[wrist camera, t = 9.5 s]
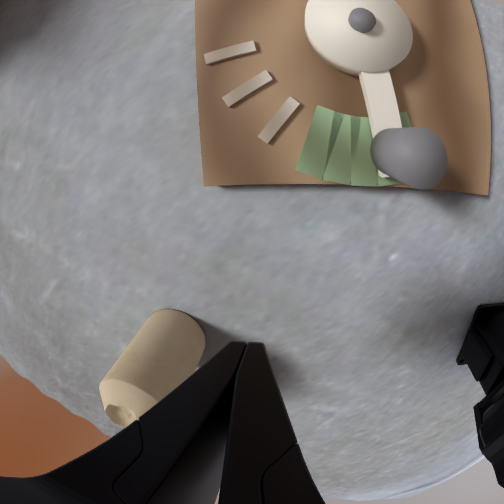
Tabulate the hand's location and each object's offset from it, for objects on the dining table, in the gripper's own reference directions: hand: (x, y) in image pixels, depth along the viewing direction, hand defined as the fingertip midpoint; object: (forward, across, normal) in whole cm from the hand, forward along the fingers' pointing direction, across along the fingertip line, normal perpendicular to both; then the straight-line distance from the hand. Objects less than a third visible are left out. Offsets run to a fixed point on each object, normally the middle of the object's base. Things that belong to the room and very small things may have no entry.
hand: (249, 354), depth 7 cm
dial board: (+12, -5, -12) cm, 18 cm away
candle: (+13, +9, +10) cm, 19 cm away
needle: (+11, -6, -9) cm, 15 cm away
